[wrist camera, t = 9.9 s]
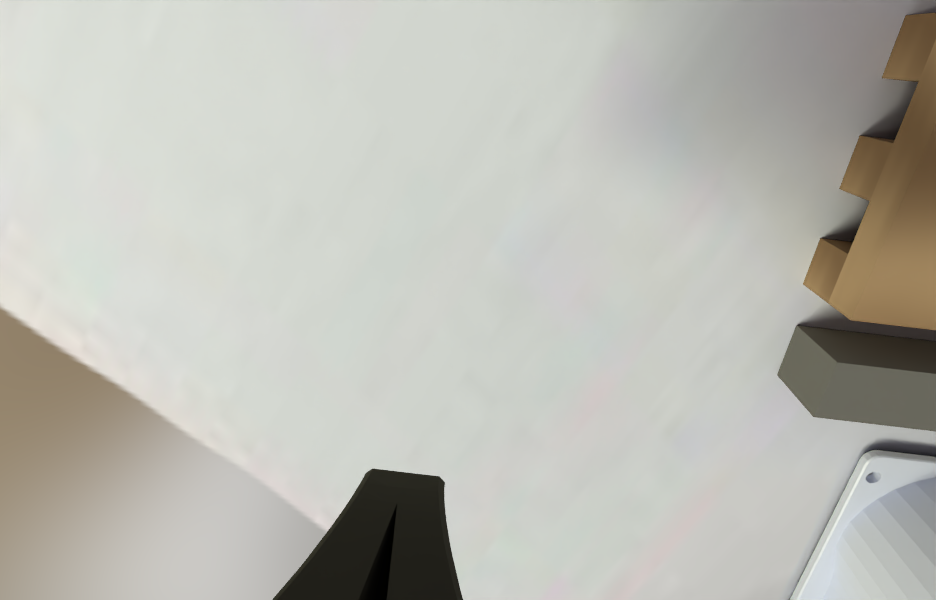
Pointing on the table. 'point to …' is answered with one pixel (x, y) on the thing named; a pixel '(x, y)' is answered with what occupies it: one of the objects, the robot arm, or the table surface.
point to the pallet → (891, 205)
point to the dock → (862, 377)
